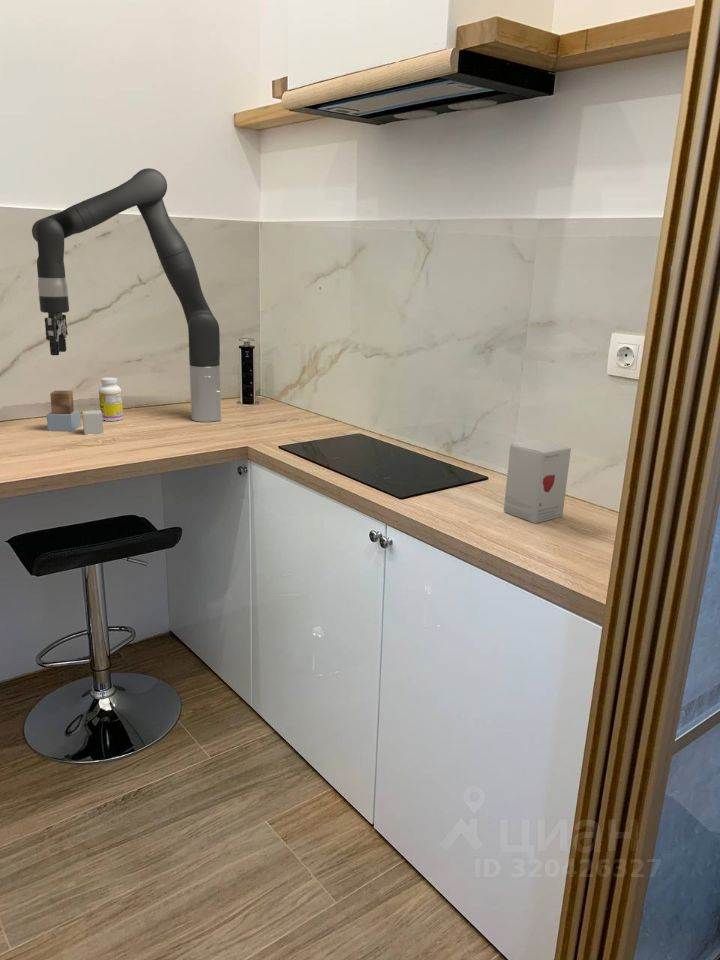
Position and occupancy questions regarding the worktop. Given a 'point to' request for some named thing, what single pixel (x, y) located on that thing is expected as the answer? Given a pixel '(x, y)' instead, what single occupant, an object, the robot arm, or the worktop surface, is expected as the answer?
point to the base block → (64, 421)
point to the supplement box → (536, 480)
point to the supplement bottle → (110, 400)
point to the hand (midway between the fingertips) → (58, 353)
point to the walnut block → (62, 402)
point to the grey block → (92, 422)
